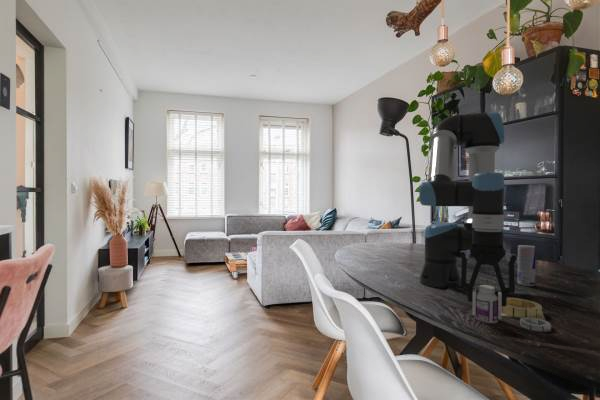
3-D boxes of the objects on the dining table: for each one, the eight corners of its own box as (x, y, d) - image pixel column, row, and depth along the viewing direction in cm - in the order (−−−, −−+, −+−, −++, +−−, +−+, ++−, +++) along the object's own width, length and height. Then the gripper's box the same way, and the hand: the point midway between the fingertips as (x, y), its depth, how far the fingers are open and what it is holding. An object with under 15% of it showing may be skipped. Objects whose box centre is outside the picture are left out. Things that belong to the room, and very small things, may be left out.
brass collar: (496, 314, 99) (496, 305, 99) (496, 303, 109) (496, 295, 109) (544, 321, 94) (544, 311, 94) (538, 309, 104) (539, 300, 104)
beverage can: (537, 287, 131) (538, 247, 131) (521, 286, 132) (521, 246, 132) (531, 283, 137) (531, 244, 136) (515, 282, 138) (515, 244, 137)
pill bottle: (490, 318, 98) (491, 284, 98) (502, 325, 93) (502, 289, 93) (471, 318, 98) (472, 284, 98) (482, 326, 93) (482, 289, 93)
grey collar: (521, 331, 89) (521, 323, 89) (519, 323, 95) (519, 315, 95) (552, 336, 86) (552, 328, 86) (548, 327, 92) (548, 320, 92)
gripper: (449, 229, 96) (448, 314, 97) (529, 233, 87) (528, 326, 88) (451, 227, 103) (451, 306, 103) (526, 230, 94) (525, 317, 95)
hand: (486, 315), depth 96 cm, fingers closed on pill bottle, 5 cm apart
